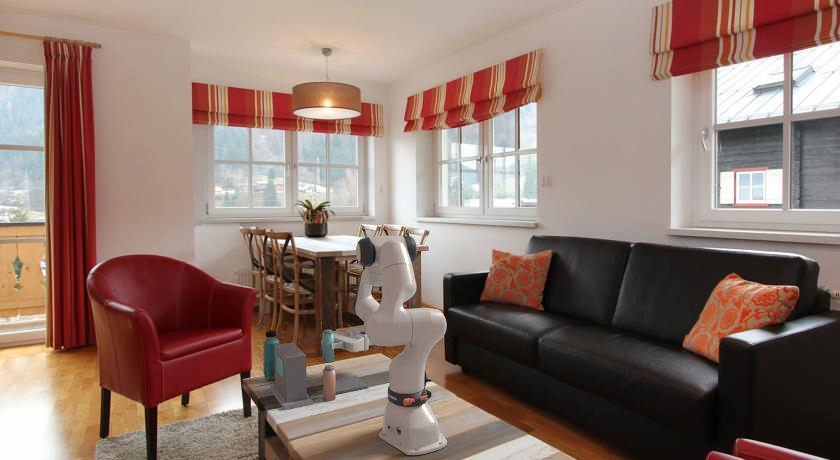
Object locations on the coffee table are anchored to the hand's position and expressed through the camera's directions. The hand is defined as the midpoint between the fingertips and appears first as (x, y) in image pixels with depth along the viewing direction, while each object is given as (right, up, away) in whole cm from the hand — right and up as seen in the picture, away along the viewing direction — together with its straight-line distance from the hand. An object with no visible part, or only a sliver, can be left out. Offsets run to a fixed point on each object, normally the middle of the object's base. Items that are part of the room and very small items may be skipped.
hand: (326, 345), depth 192 cm
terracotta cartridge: (+3, -18, -9) cm, 20 cm away
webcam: (+37, -18, -6) cm, 41 cm away
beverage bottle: (-24, -16, +10) cm, 31 cm away
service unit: (-12, -17, -7) cm, 22 cm away
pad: (+7, -17, +3) cm, 19 cm away
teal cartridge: (+1, -6, +1) cm, 7 cm away
